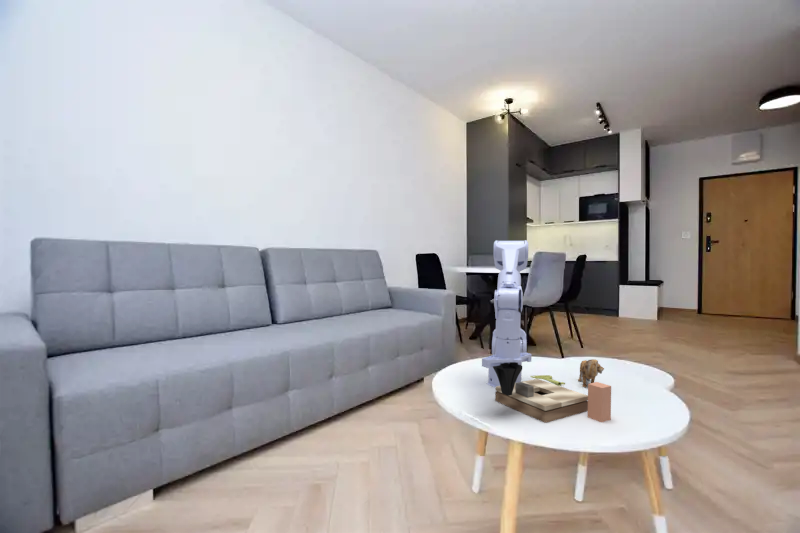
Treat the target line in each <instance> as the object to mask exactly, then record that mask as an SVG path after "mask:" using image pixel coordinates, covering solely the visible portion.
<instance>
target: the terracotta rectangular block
mask: <svg viewBox="0 0 800 533" xmlns="http://www.w3.org/2000/svg"><path fill="white" fill-rule="evenodd" d="M587 395H588V400H587V401H588V411H587V418H589V419H591V420H594V421H597V422H599V423H604V422H608V421H611V418H612V385H610V384H605V383H602V382H600V381H594V383H591V382H590V383H588V384H587Z"/></svg>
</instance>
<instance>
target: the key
mask: <svg viewBox="0 0 800 533" xmlns="http://www.w3.org/2000/svg"><path fill="white" fill-rule="evenodd" d="M530 377H531V378H532V379H539V380H543V381H546V382H548V383H551V384H554V385H558V386H561V385H566V382H563V381H558V380H554V379H553V376H552V375H548V374H546V375H545V374H541V375H538V374H537V375H530ZM561 387H562V386H561Z"/></svg>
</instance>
